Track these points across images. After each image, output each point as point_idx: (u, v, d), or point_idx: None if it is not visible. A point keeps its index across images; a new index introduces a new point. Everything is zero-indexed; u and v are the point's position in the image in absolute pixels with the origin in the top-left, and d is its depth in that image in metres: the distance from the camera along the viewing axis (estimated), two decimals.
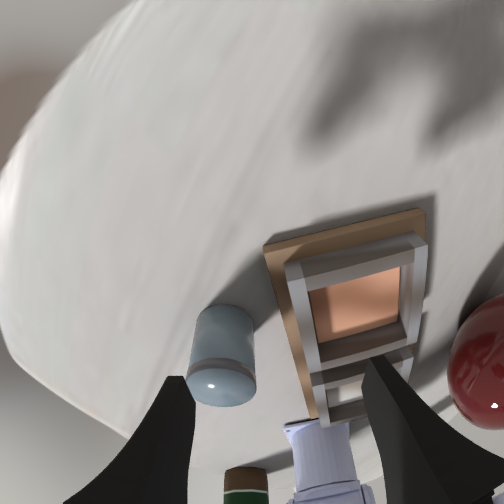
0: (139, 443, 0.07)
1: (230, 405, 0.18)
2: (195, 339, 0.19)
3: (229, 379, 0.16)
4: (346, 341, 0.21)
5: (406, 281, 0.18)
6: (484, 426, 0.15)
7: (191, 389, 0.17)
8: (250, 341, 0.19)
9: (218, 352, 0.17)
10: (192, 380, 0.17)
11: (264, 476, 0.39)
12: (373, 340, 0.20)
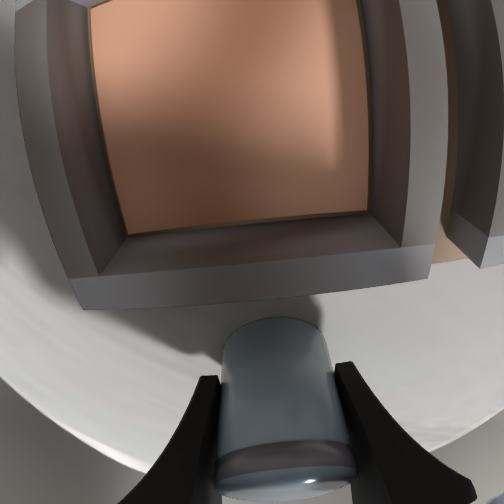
0: (179, 447, 0.07)
1: (351, 479, 0.07)
2: None
3: (250, 485, 0.06)
4: (381, 133, 0.06)
5: None
6: None
7: (277, 498, 0.08)
8: (261, 376, 0.09)
9: None
10: (250, 497, 0.08)
11: None
12: (388, 49, 0.05)
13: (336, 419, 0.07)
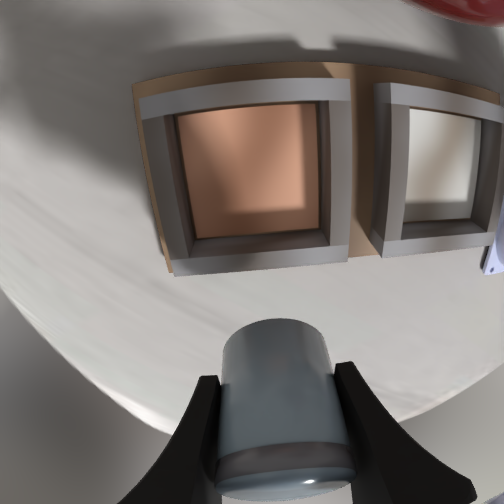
0: (179, 447, 0.07)
1: (350, 479, 0.07)
2: None
3: (250, 486, 0.06)
4: (323, 191, 0.14)
5: None
6: None
7: (277, 497, 0.08)
8: (260, 378, 0.09)
9: (217, 452, 0.08)
10: (250, 496, 0.08)
11: None
12: (326, 155, 0.13)
13: (335, 420, 0.08)
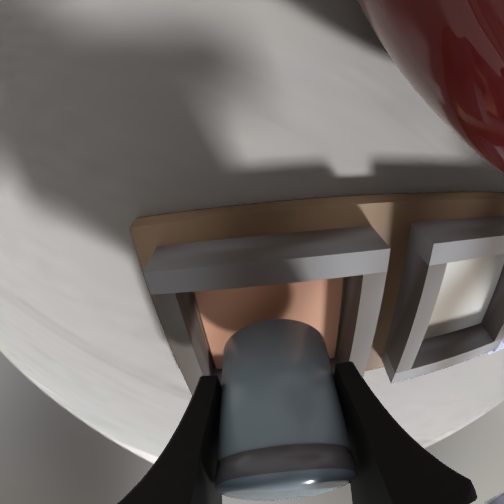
0: (179, 446, 0.07)
1: (349, 479, 0.07)
2: None
3: (251, 487, 0.06)
4: (343, 335, 0.14)
5: None
6: None
7: (277, 497, 0.08)
8: (261, 379, 0.09)
9: None
10: (250, 496, 0.08)
11: None
12: (351, 313, 0.12)
13: (335, 422, 0.08)
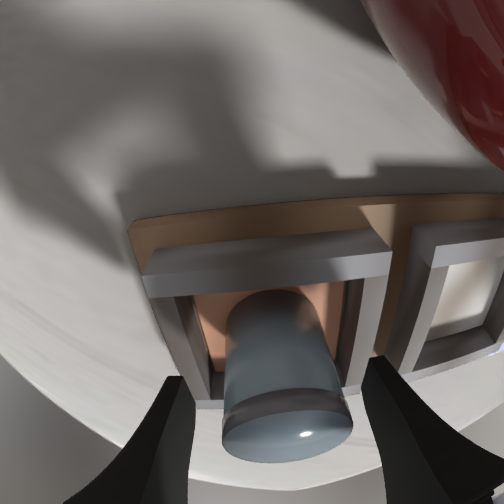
0: (139, 443, 0.07)
1: (347, 432, 0.08)
2: None
3: (256, 436, 0.08)
4: (343, 338, 0.14)
5: None
6: None
7: (280, 458, 0.09)
8: (261, 337, 0.10)
9: None
10: (255, 457, 0.09)
11: None
12: (352, 317, 0.12)
13: (329, 373, 0.09)
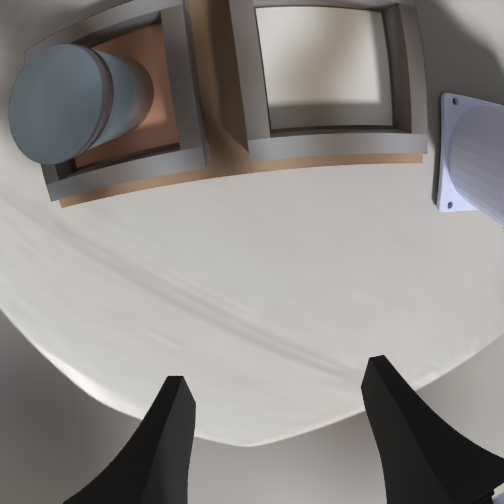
0: (139, 443, 0.07)
1: (96, 84, 0.07)
2: None
3: (25, 91, 0.07)
4: None
5: None
6: None
7: (53, 155, 0.08)
8: None
9: None
10: (32, 150, 0.08)
11: None
12: None
13: (103, 53, 0.08)
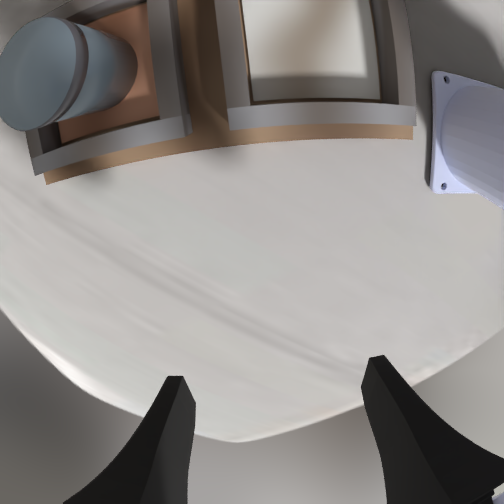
0: (139, 443, 0.07)
1: (70, 52, 0.06)
2: None
3: (9, 62, 0.06)
4: None
5: None
6: None
7: (29, 122, 0.07)
8: None
9: None
10: (12, 117, 0.07)
11: None
12: None
13: (84, 26, 0.07)
